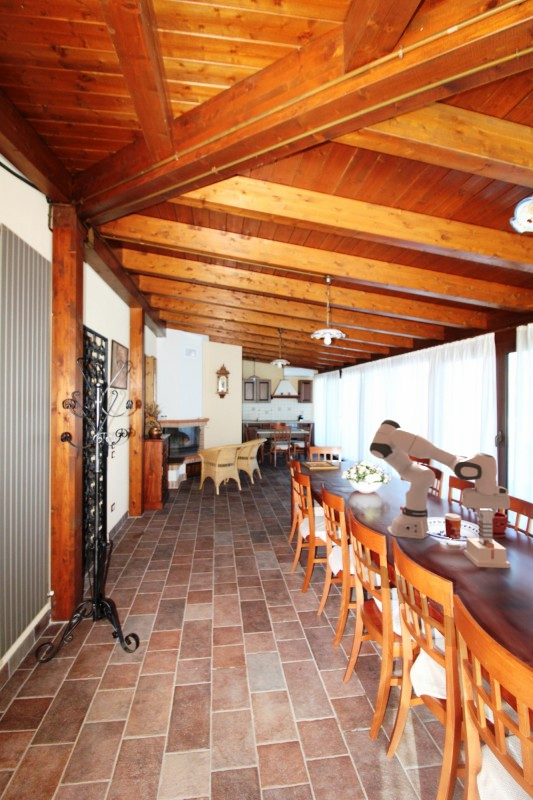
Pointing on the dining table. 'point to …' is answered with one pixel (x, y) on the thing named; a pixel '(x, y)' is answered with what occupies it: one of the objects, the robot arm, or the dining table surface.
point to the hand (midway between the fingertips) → (485, 517)
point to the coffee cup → (452, 525)
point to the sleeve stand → (486, 554)
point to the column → (485, 527)
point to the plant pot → (499, 525)
